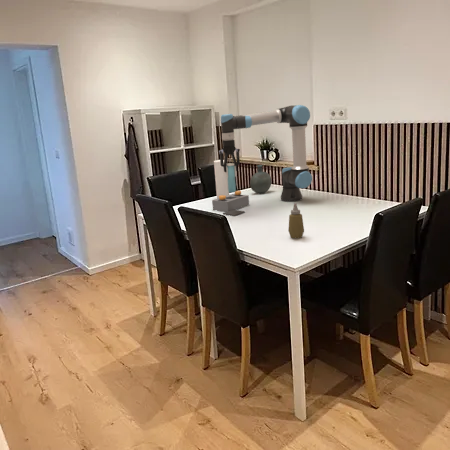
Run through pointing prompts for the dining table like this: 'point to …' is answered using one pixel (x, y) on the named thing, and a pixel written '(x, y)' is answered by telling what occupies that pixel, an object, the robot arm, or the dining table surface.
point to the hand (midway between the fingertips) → (231, 176)
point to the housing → (231, 203)
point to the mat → (234, 212)
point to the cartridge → (231, 178)
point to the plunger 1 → (222, 197)
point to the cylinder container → (220, 179)
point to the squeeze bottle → (296, 223)
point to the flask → (260, 181)
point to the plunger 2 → (237, 193)
